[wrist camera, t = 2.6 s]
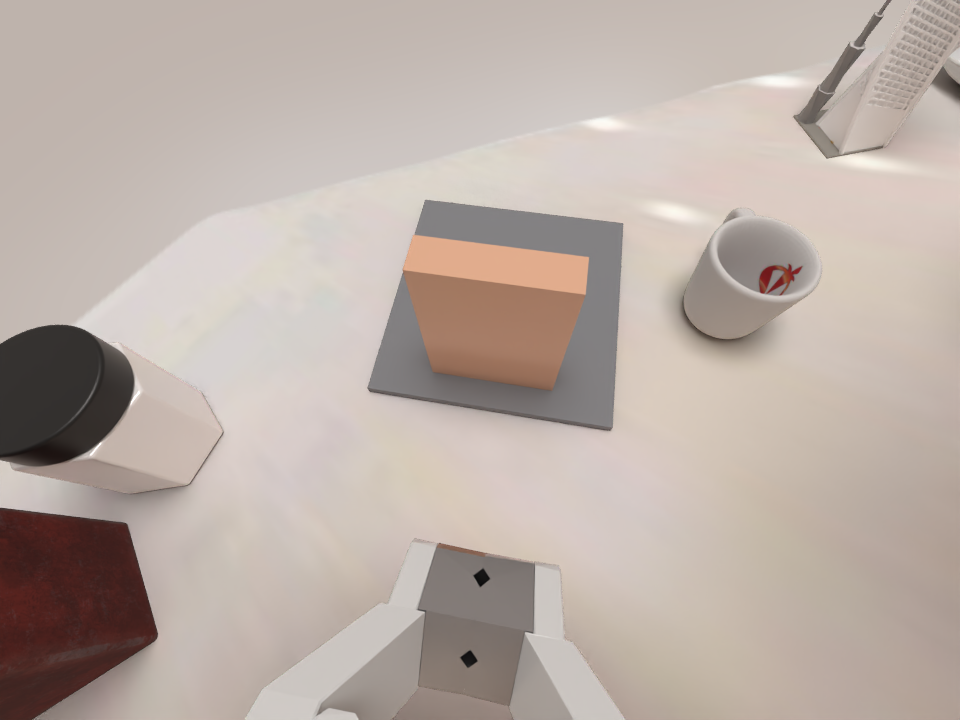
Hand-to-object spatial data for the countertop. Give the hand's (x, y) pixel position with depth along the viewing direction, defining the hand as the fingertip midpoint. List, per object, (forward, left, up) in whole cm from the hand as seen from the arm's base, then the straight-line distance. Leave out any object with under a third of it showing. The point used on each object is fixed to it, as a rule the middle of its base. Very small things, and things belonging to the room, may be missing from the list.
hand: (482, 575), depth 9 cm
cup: (-31, +1, -25) cm, 39 cm away
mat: (-18, -13, -24) cm, 33 cm away
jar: (+10, -25, -25) cm, 37 cm away
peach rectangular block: (-12, -10, -24) cm, 28 cm away
